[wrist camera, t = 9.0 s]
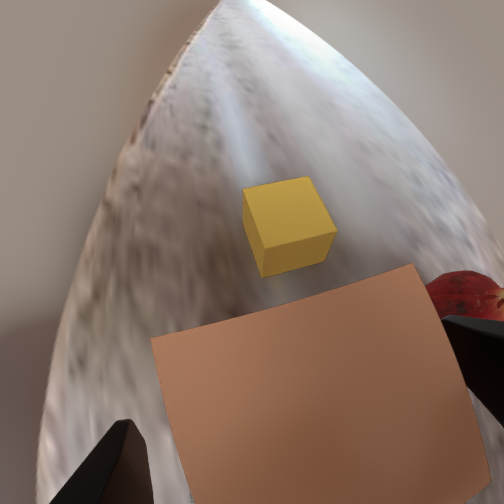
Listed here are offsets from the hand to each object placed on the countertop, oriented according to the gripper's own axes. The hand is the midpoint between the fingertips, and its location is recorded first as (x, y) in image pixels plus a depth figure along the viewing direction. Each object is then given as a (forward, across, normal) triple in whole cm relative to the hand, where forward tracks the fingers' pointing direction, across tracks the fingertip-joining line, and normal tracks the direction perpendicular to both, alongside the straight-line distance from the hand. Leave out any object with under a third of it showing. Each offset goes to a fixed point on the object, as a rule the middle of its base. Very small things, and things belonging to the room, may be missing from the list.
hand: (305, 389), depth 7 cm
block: (+12, -3, 0) cm, 13 cm away
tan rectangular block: (+5, 0, +7) cm, 8 cm away
